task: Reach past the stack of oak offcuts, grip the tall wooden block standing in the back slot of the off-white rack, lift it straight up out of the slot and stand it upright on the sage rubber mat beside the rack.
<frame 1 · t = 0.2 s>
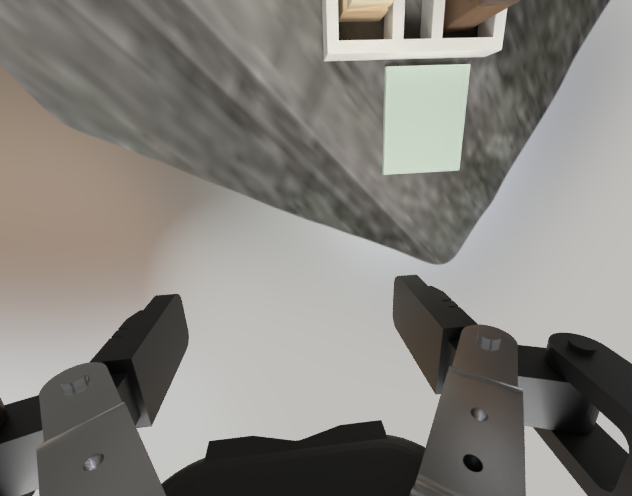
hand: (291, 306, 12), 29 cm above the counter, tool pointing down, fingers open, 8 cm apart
sage mat: (423, 122, 38), on the counter
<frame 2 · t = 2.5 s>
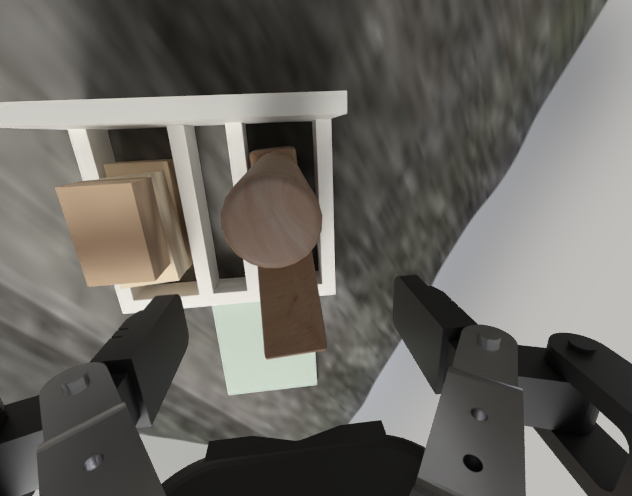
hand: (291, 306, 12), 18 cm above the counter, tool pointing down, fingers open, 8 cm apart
sage mat: (268, 342, 33), on the counter
wooden block: (282, 207, 29), on the counter
offcut stack: (162, 211, 28), resting in offcut rack
offcut rack: (230, 207, 28), on the counter
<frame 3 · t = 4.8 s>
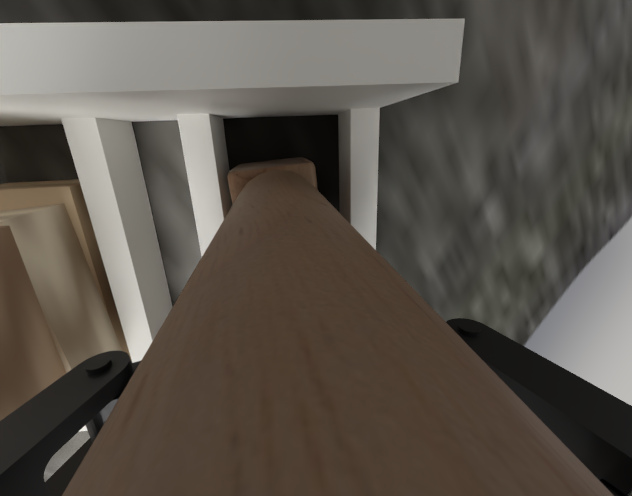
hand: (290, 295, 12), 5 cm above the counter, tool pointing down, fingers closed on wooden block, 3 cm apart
wooden block: (285, 256, 18), on the counter, touching gripper
offcut stack: (85, 265, 17), resting in offcut rack
offcut rack: (199, 257, 17), on the counter
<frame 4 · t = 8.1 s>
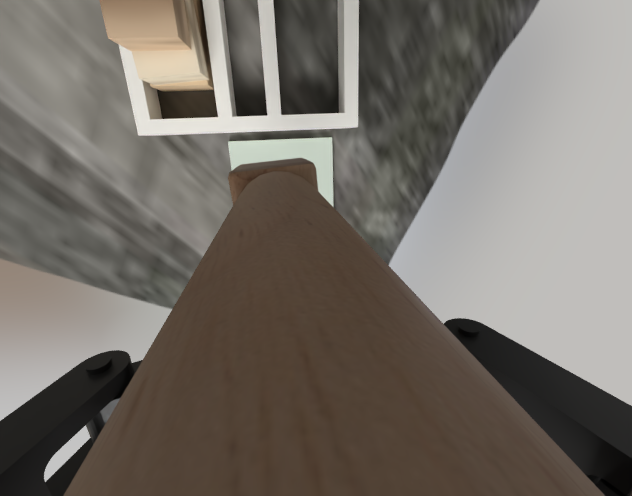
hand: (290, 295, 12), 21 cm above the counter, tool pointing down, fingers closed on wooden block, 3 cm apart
sage mat: (285, 200, 32), on the counter
wooden block: (285, 257, 18), point 16 cm above the counter, touching gripper
offcut stack: (180, 33, 27), resting in offcut rack
offcut rack: (250, 31, 27), on the counter
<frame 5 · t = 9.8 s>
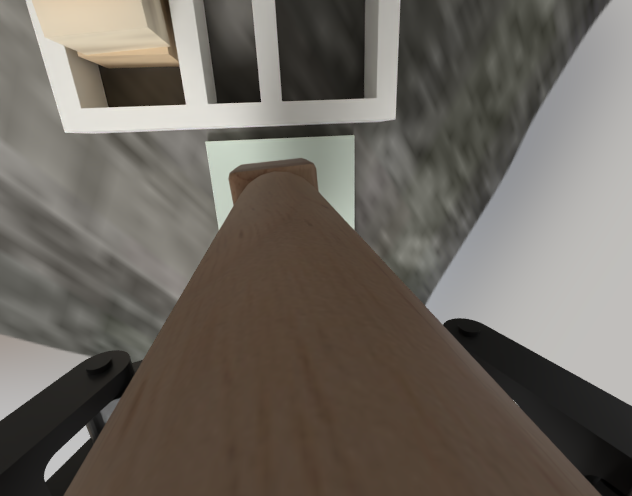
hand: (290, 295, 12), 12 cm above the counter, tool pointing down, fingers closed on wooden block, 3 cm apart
sage mat: (287, 222, 23), on the counter
wooden block: (285, 257, 18), point 6 cm above the counter, touching gripper
when the fingers open (7 cm above the counter, at t = 11.4 s): wooden block drops 1 cm, resting on sage mat.
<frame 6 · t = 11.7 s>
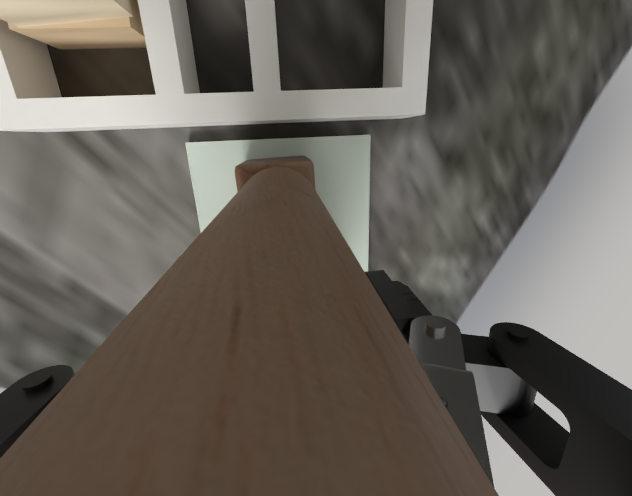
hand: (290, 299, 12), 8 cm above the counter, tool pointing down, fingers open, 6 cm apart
sage mat: (287, 240, 19), on the counter
wooden block: (285, 247, 19), resting on sage mat
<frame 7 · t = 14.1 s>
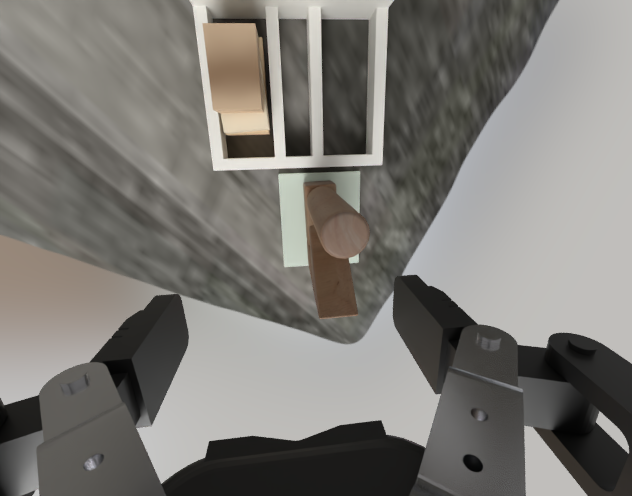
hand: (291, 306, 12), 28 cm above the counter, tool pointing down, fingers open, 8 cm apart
sage mat: (320, 219, 40), on the counter
wooden block: (319, 223, 40), resting on sage mat
offcut stack: (246, 92, 35), resting in offcut rack
offcut rack: (299, 91, 35), on the counter
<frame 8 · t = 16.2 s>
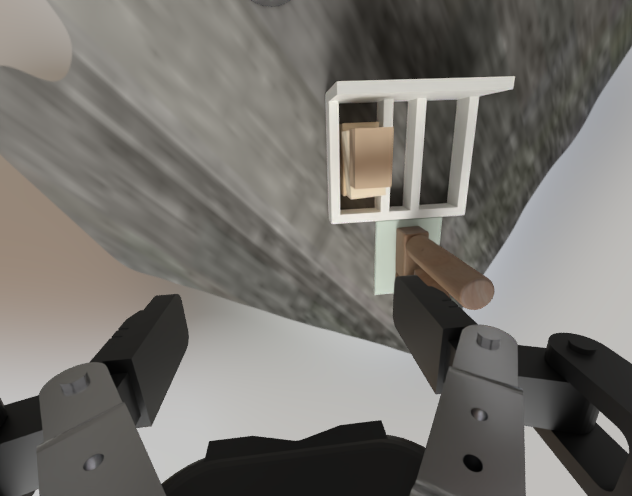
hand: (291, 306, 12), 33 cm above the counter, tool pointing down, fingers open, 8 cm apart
sage mat: (405, 256, 48), on the counter
wooden block: (405, 259, 48), resting on sage mat
offcut stack: (355, 158, 43), resting in offcut rack
offcut rack: (398, 156, 43), on the counter
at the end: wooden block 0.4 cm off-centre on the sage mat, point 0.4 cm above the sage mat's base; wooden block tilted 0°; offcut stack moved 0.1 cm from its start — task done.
